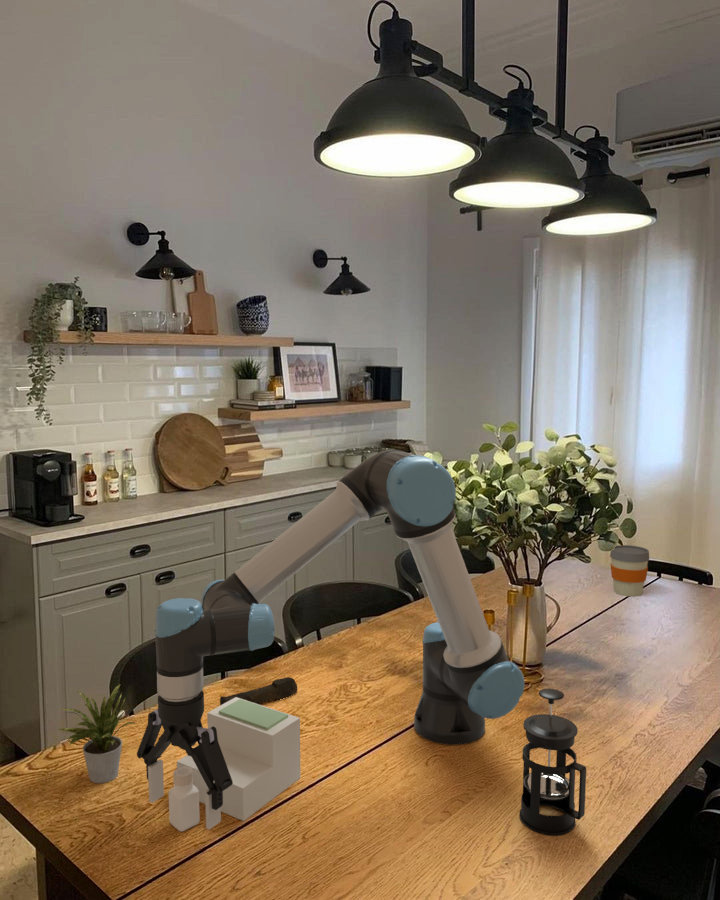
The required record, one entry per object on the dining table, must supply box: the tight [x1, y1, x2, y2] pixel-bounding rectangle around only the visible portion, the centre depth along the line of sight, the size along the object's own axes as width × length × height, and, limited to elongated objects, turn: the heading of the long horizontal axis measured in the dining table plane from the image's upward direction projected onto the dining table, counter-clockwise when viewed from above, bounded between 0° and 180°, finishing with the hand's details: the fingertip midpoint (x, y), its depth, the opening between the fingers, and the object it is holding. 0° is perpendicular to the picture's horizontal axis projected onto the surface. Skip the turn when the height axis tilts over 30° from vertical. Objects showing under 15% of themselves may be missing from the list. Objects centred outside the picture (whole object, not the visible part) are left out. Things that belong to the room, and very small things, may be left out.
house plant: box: [57, 683, 136, 784], centre depth 143 cm, size 14×14×16 cm
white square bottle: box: [168, 767, 201, 832], centre depth 127 cm, size 4×4×10 cm
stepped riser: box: [176, 697, 301, 822], centre depth 139 cm, size 16×16×12 cm
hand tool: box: [219, 676, 298, 706], centre depth 172 cm, size 19×4×5 cm, turn 121°
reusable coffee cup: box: [609, 544, 650, 598], centre depth 255 cm, size 13×12×15 cm
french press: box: [519, 687, 587, 837], centre depth 128 cm, size 12×9×23 cm
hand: (184, 811), depth 128 cm, fingers open, 13 cm apart
